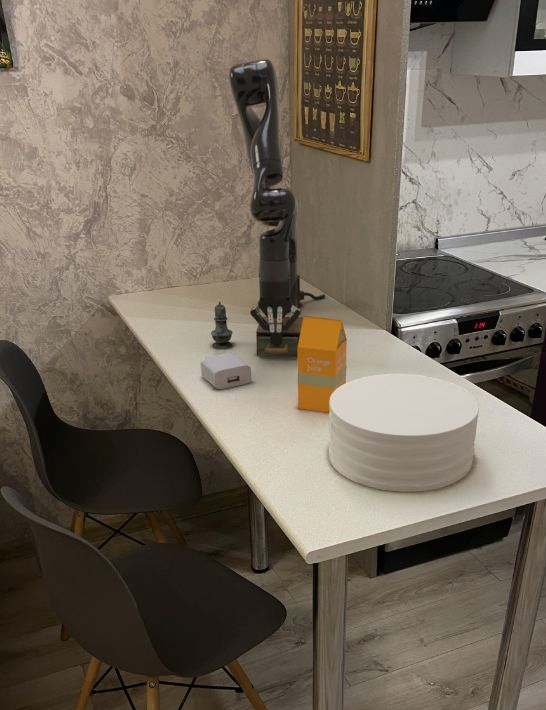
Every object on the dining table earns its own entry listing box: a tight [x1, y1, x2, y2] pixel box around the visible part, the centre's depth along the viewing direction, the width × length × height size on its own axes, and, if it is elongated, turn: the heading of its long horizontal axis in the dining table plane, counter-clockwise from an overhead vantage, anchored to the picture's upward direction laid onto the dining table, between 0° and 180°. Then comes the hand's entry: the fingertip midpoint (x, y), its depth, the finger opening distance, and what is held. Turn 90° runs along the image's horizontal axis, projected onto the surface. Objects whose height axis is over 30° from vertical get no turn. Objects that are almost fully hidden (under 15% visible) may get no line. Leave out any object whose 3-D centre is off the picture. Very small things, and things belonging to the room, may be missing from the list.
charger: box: [200, 353, 252, 390], centre depth 183 cm, size 5×9×15 cm
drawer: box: [257, 335, 298, 357], centre depth 195 cm, size 16×10×5 cm, turn 176°
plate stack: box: [328, 373, 480, 493], centre depth 145 cm, size 28×28×12 cm
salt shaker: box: [210, 301, 234, 350], centre depth 200 cm, size 6×6×12 cm
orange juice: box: [297, 315, 348, 414], centre depth 164 cm, size 8×9×20 cm
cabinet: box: [255, 316, 304, 356], centre depth 199 cm, size 12×11×6 cm
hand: (276, 345), depth 189 cm, fingers closed
